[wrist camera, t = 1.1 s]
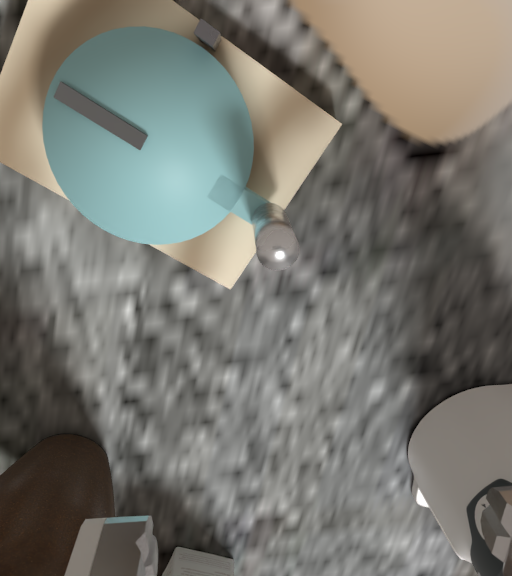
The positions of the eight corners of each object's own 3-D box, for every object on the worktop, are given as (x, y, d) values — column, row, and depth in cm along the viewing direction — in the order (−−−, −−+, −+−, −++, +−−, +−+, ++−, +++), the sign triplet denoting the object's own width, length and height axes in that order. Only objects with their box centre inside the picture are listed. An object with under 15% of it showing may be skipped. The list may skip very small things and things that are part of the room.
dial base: (336, 121, 32) (357, 129, 26) (230, 279, 36) (230, 313, 31) (71, -71, 26) (29, -112, 21) (-12, 143, 31) (-64, 155, 26)
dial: (334, 142, 30) (367, 160, 23) (234, 289, 34) (235, 345, 27) (106, -20, 25) (56, -62, 18) (24, 173, 30) (-43, 201, 22)
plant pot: (179, 460, 44) (154, 642, 30) (86, 533, 48) (24, 726, 34) (55, 375, 39) (-47, 544, 25) (-38, 464, 43) (-173, 655, 29)
